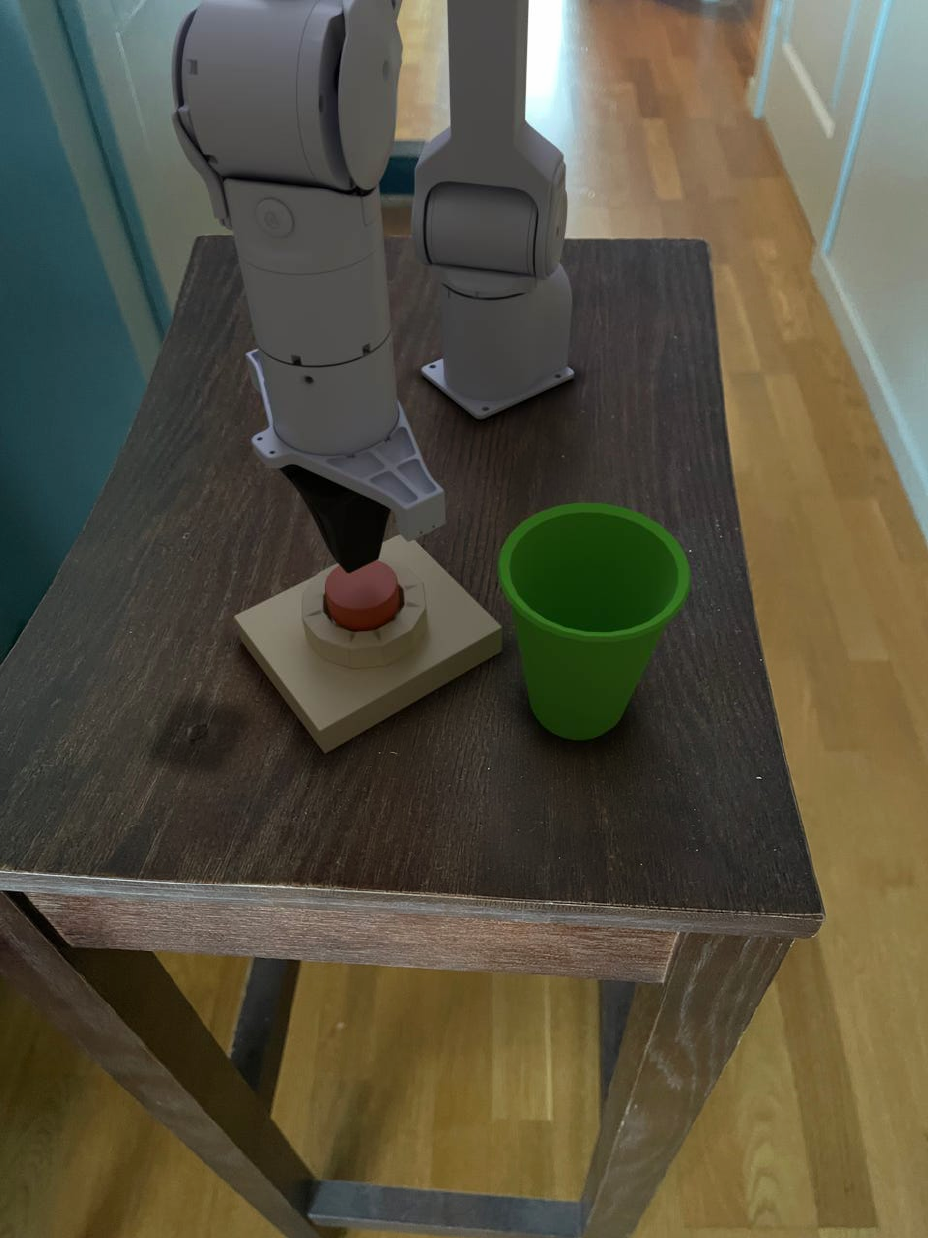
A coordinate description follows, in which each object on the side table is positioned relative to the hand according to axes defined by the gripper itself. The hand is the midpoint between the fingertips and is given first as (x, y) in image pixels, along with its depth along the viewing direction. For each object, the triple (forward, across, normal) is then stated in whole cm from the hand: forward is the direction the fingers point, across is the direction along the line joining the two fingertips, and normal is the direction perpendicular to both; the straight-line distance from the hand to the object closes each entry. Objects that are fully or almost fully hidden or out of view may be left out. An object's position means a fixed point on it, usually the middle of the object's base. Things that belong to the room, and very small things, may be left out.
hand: (357, 558), depth 49 cm
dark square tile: (+8, 0, -11) cm, 14 cm away
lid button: (+4, 0, 0) cm, 4 cm away
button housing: (+7, 0, 0) cm, 7 cm away
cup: (+7, +10, +7) cm, 15 cm away
